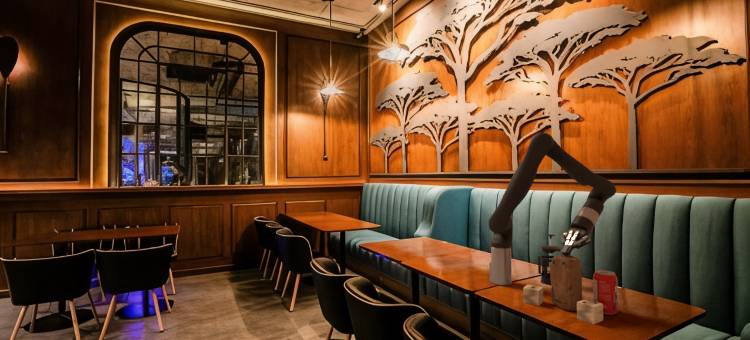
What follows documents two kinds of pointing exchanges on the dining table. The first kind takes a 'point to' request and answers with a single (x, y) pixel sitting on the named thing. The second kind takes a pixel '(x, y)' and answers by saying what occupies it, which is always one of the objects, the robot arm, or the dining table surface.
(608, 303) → the soda can
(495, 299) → the dining table surface
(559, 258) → the block
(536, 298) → the dotted cube one
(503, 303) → the dining table surface
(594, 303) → the dotted cube two
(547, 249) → the french press
